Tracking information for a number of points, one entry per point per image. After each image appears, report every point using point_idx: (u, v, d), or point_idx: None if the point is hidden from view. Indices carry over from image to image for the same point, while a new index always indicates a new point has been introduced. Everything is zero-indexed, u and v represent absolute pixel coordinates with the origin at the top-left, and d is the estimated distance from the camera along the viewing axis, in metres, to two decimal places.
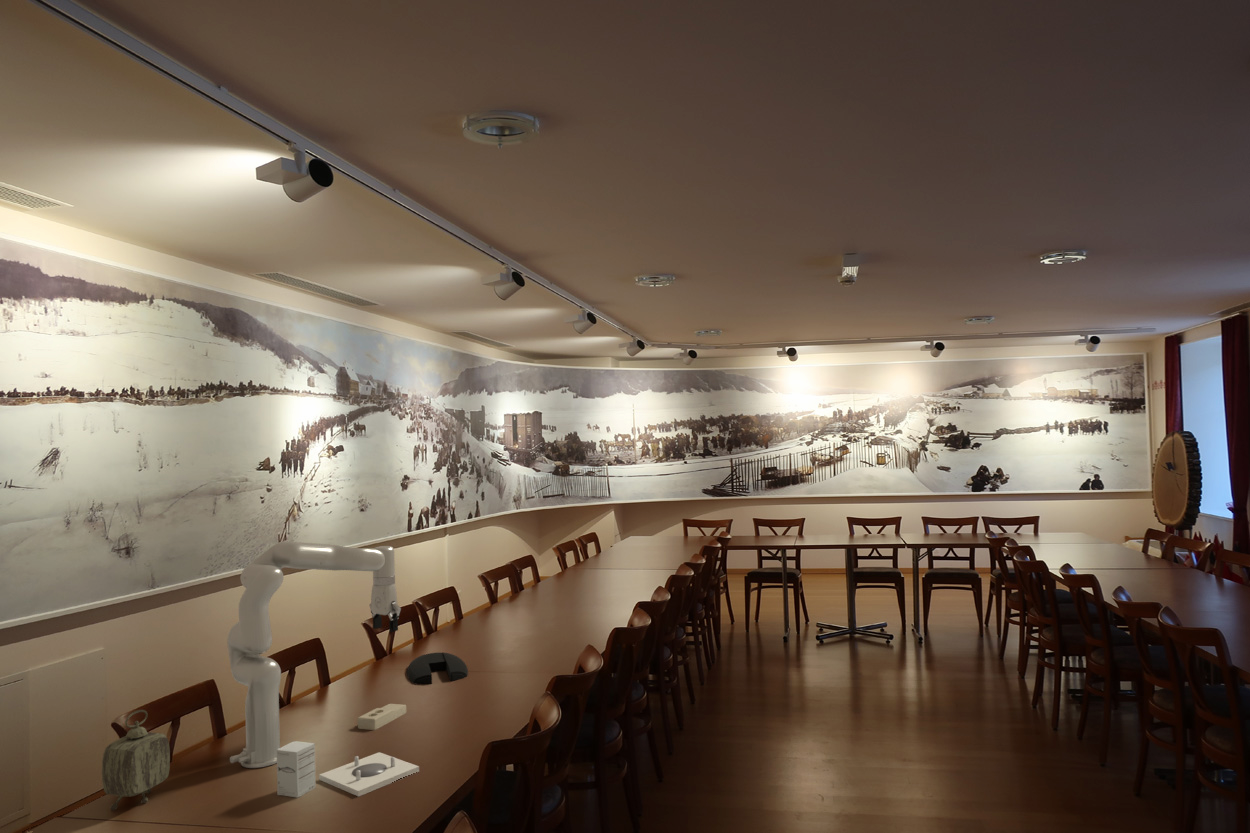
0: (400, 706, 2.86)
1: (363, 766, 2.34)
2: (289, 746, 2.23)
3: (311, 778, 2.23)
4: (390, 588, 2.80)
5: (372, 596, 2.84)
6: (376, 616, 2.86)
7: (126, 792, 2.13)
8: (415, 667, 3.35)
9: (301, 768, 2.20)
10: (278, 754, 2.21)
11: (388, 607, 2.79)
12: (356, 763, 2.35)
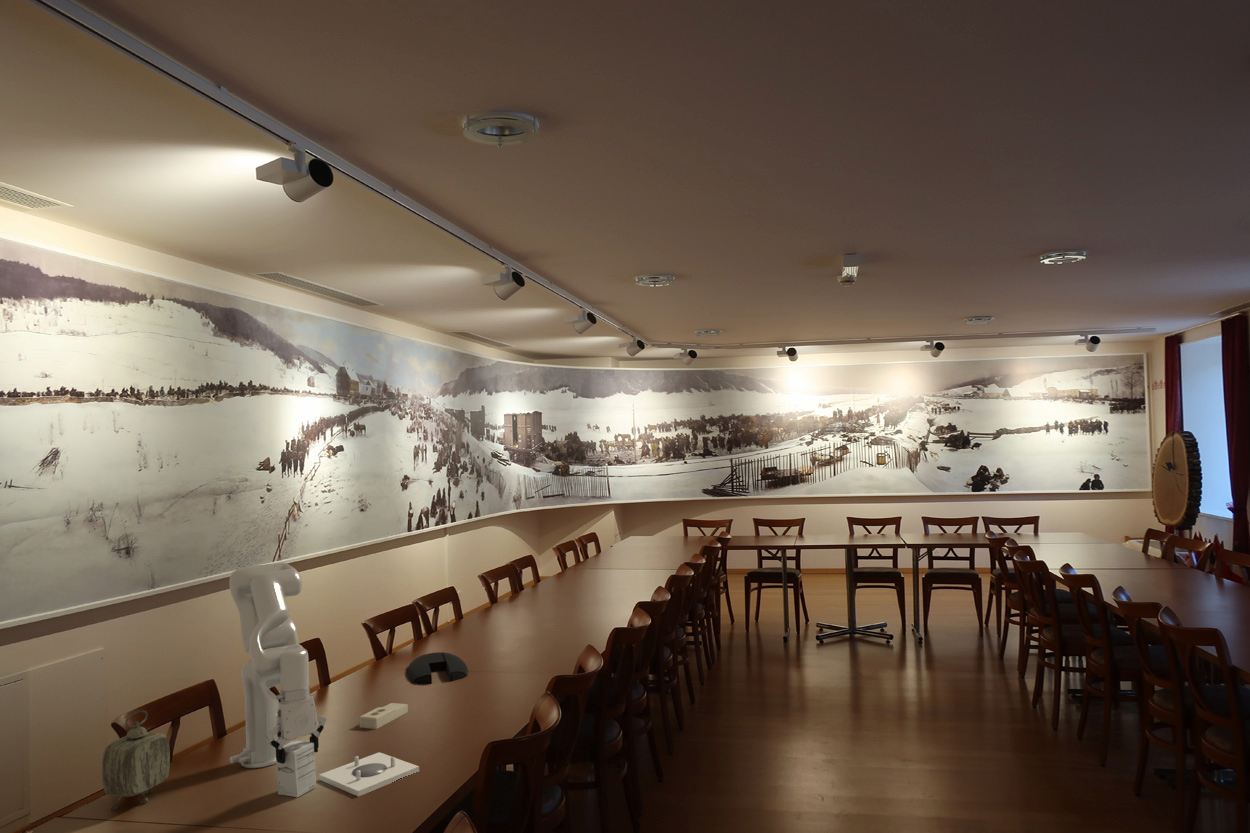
0: (402, 705, 2.87)
1: (363, 766, 2.34)
2: (288, 746, 2.23)
3: (311, 777, 2.23)
4: None
5: (287, 718, 2.19)
6: None
7: (126, 792, 2.13)
8: (415, 667, 3.36)
9: (299, 768, 2.20)
10: None
11: None
12: (356, 763, 2.35)
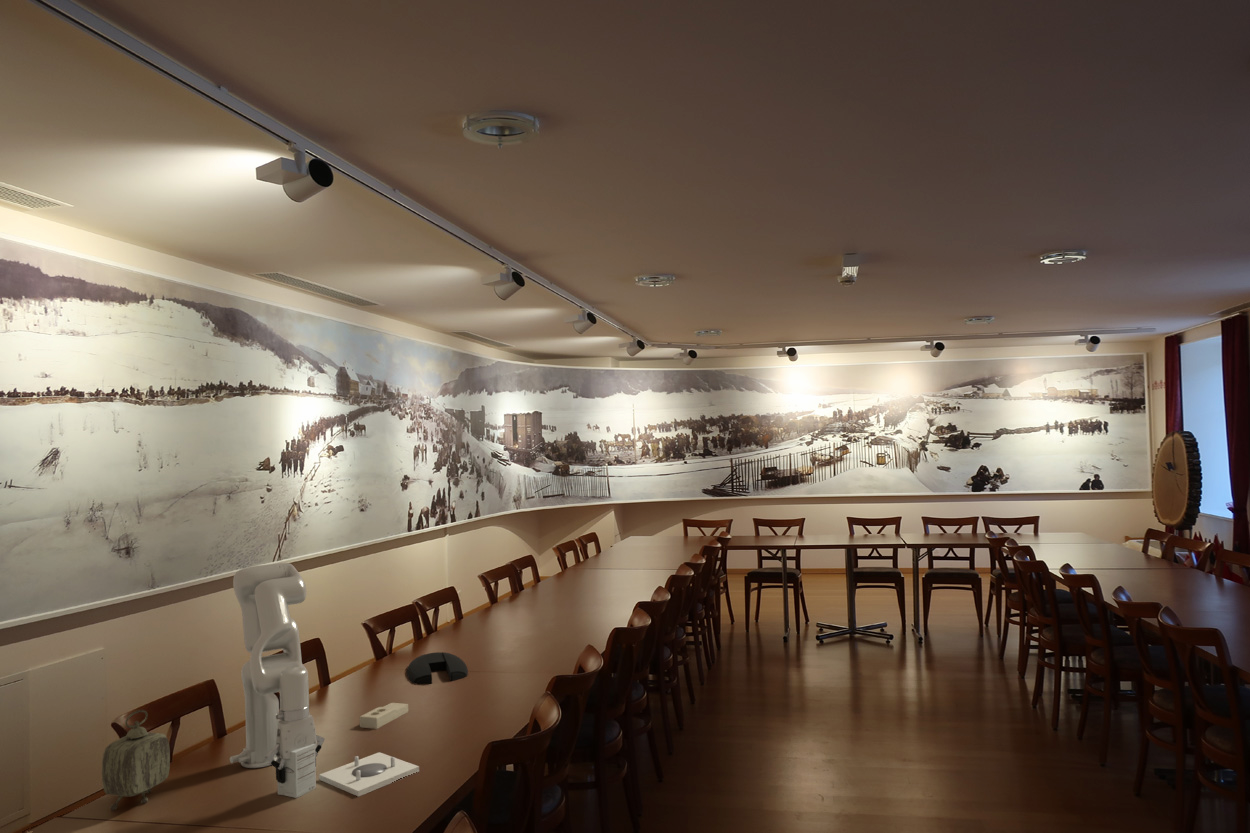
0: (402, 705, 2.87)
1: (363, 766, 2.34)
2: None
3: (311, 779, 2.23)
4: None
5: (286, 738, 2.19)
6: None
7: (126, 792, 2.13)
8: (415, 667, 3.36)
9: (300, 768, 2.20)
10: (278, 753, 2.21)
11: None
12: (356, 763, 2.35)
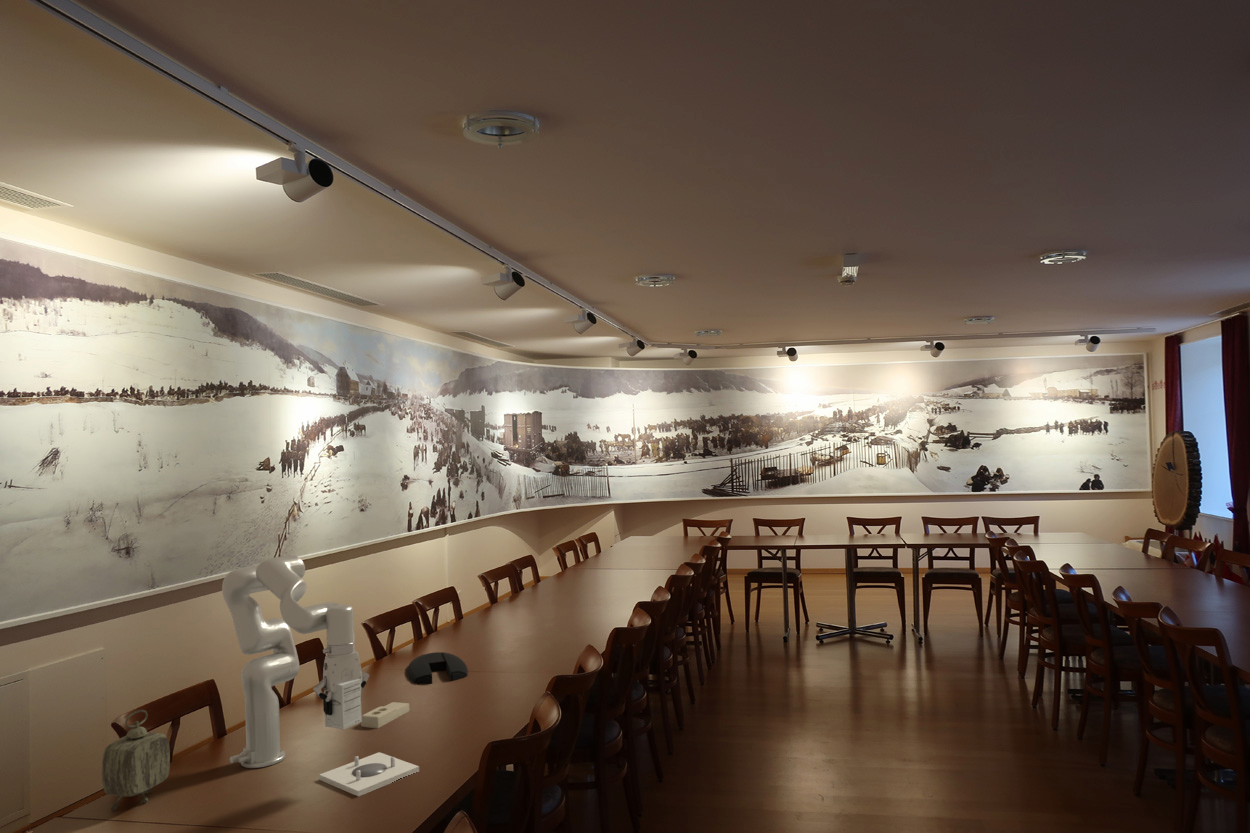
0: (403, 704, 2.88)
1: (363, 766, 2.34)
2: None
3: (357, 712, 2.29)
4: None
5: (333, 671, 2.25)
6: None
7: (126, 792, 2.13)
8: (415, 667, 3.36)
9: (346, 701, 2.26)
10: (326, 687, 2.27)
11: None
12: (356, 763, 2.35)
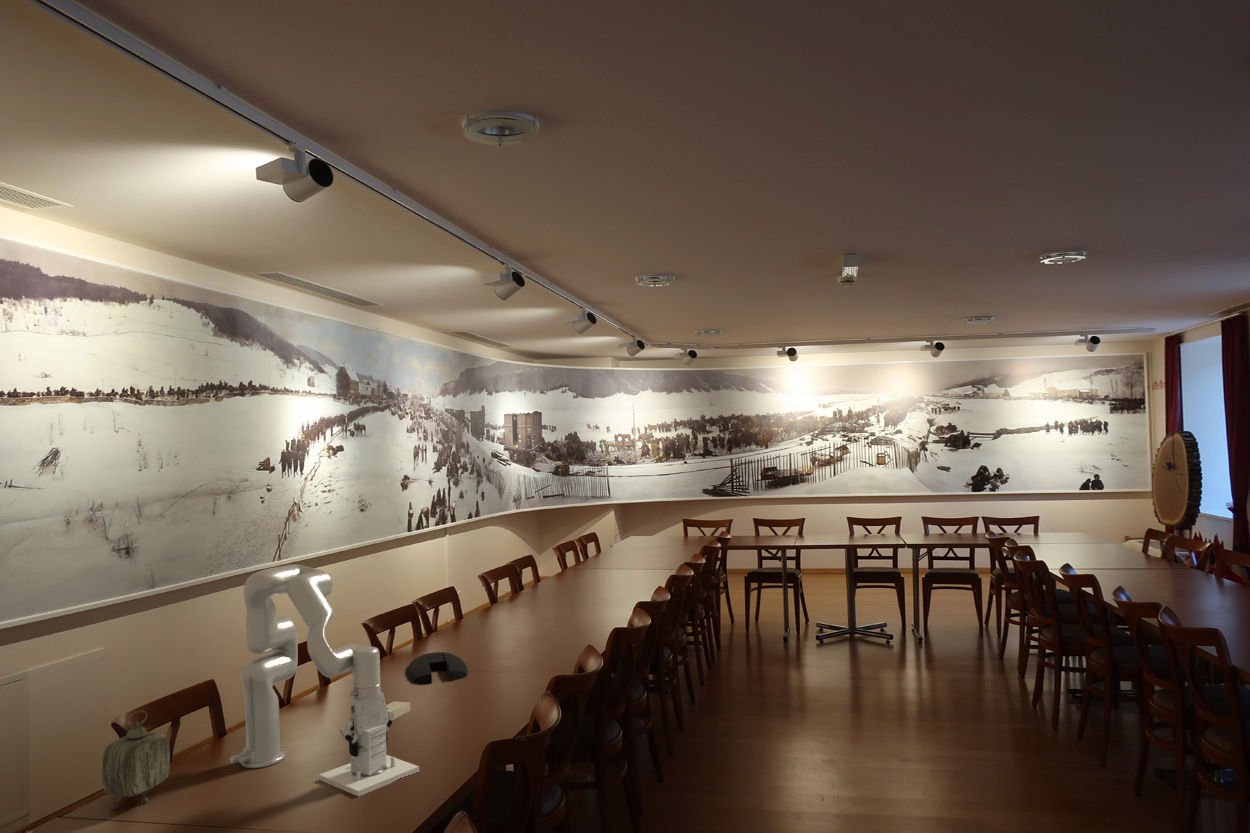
0: (404, 704, 2.89)
1: None
2: None
3: (382, 757, 2.32)
4: None
5: (360, 714, 2.28)
6: None
7: (126, 792, 2.13)
8: (415, 667, 3.36)
9: (372, 747, 2.29)
10: None
11: None
12: None
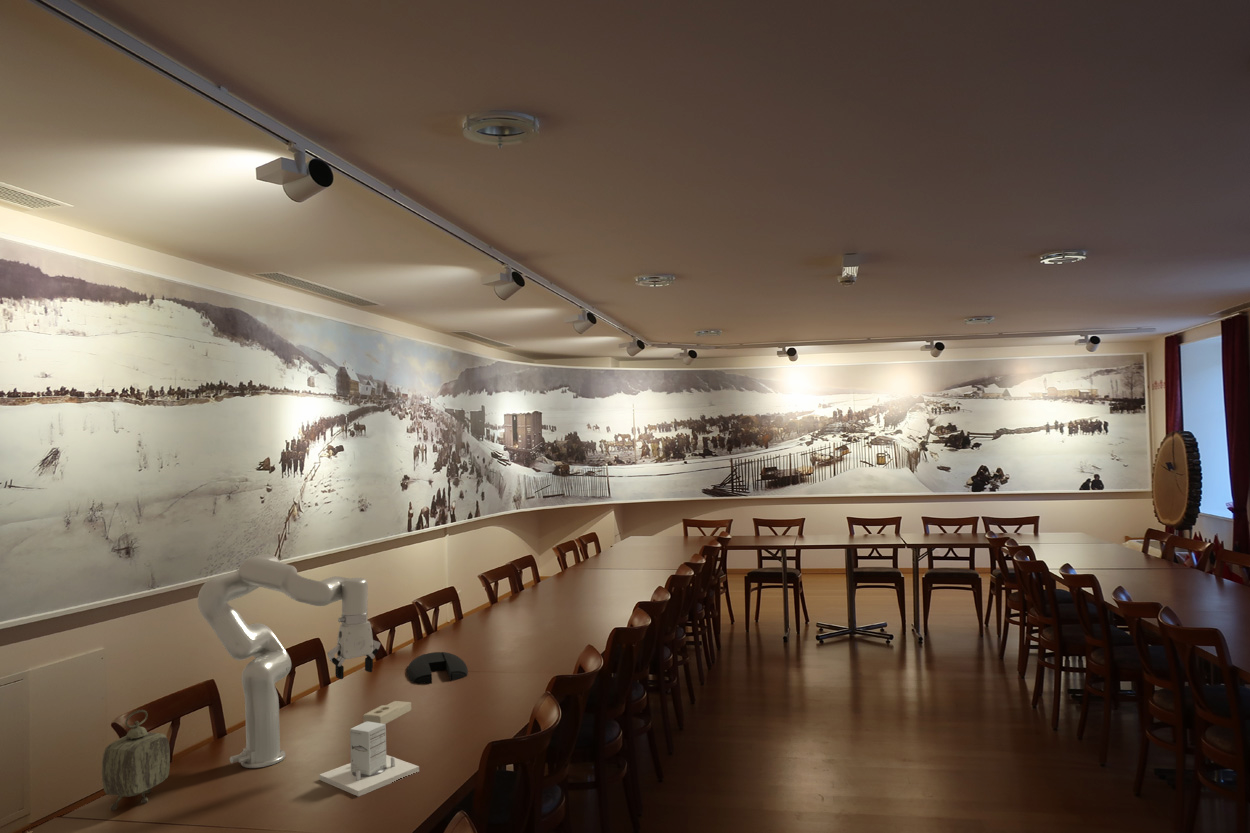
0: (405, 703, 2.89)
1: None
2: (362, 726, 2.32)
3: (382, 757, 2.32)
4: None
5: (347, 639, 2.41)
6: None
7: (126, 792, 2.13)
8: (415, 667, 3.36)
9: (372, 747, 2.29)
10: (352, 733, 2.30)
11: None
12: None
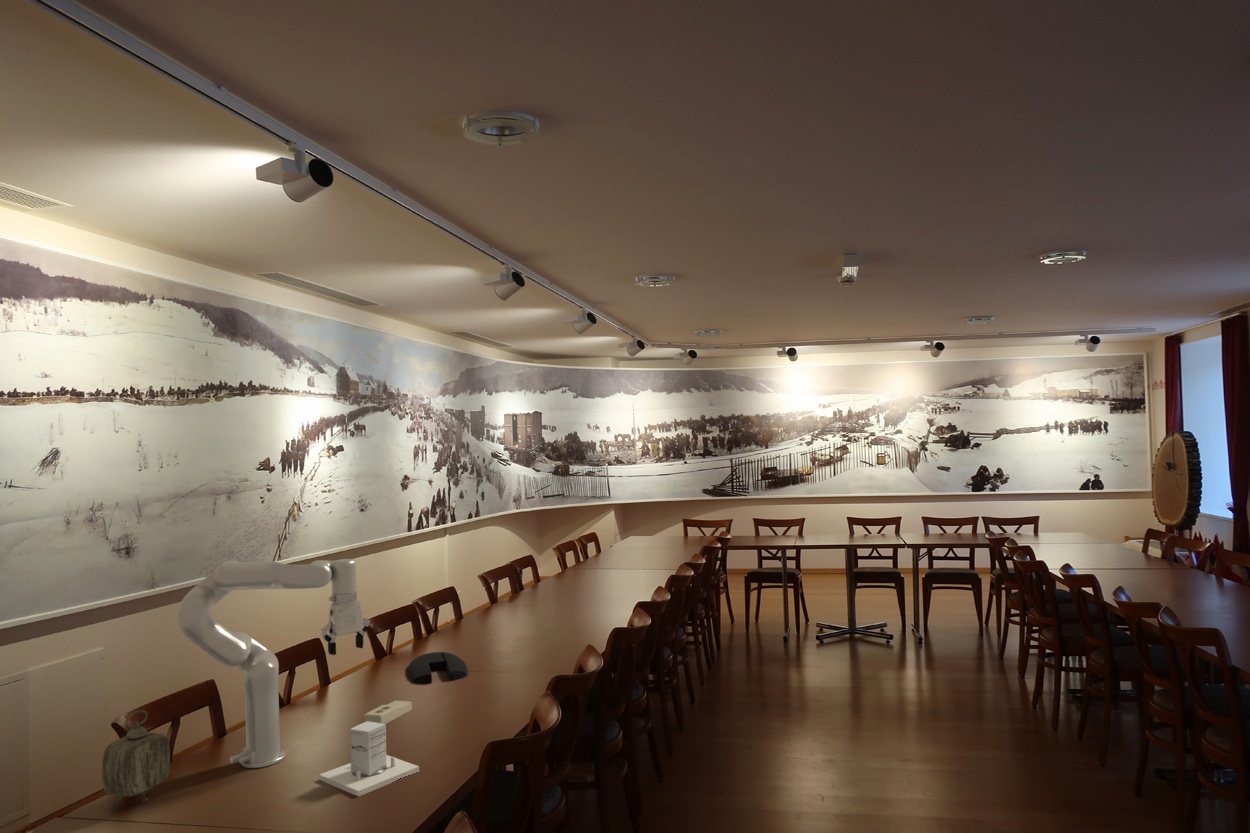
0: (406, 703, 2.90)
1: None
2: (362, 726, 2.32)
3: (382, 757, 2.32)
4: None
5: (338, 617, 2.54)
6: None
7: (126, 792, 2.13)
8: (415, 667, 3.36)
9: (372, 747, 2.29)
10: (352, 733, 2.30)
11: None
12: None
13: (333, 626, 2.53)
